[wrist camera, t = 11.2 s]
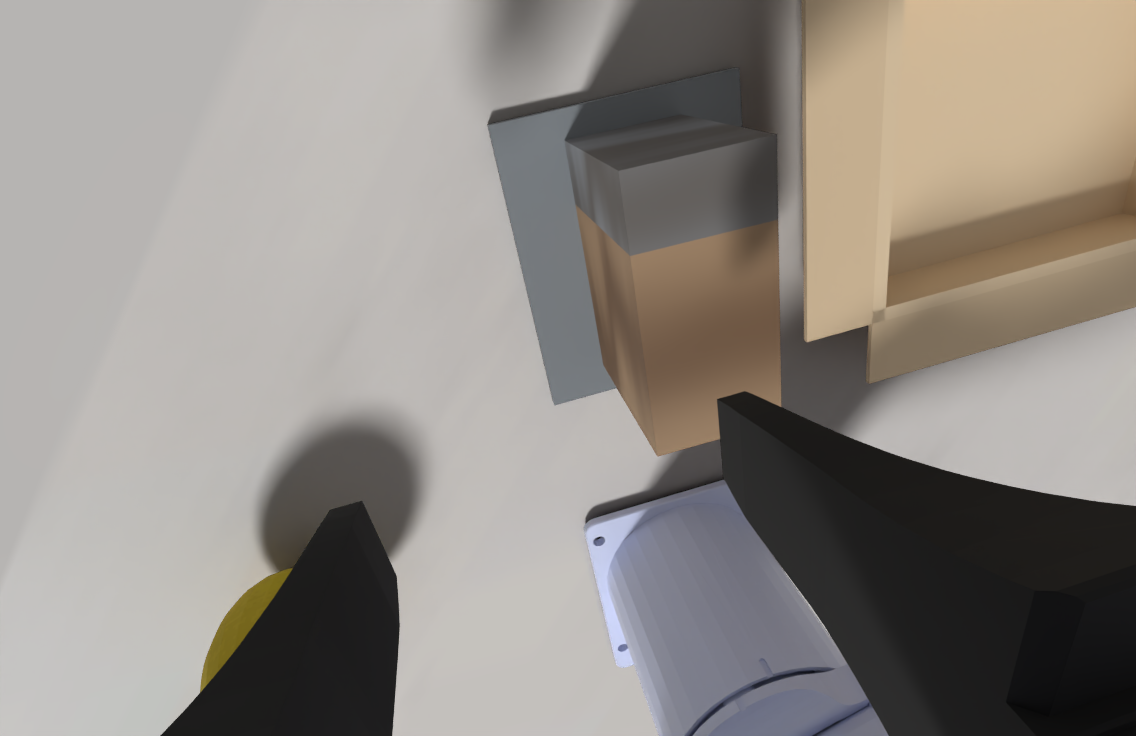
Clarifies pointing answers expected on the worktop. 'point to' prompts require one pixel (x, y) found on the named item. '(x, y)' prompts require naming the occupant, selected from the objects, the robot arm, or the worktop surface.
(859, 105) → the carton
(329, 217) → the worktop surface
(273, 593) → the lemon
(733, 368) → the walnut box
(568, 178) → the rubber mat
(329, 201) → the worktop surface
